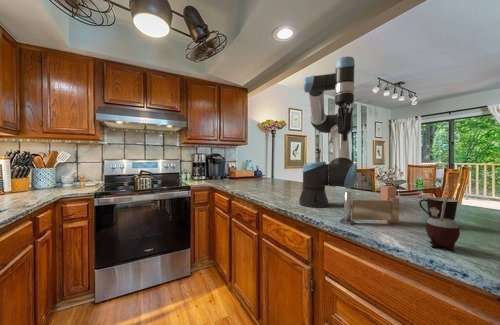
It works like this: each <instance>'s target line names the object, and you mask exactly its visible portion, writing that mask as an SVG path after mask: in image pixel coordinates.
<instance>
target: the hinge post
mask: <svg viewBox="0 0 500 325" xmlns="http://www.w3.org/2000/svg"><path fill="white" fill-rule="evenodd" d="M343 194H344V199H343V200H344V204H343V218H341V219H339V223H341V224H345V225H348V226H351V225H354V224H355V222H356V220H353V219H352V192H351V191H344V193H343Z"/></svg>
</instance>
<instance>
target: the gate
mask: <svg viewBox="0 0 500 325" xmlns="http://www.w3.org/2000/svg"><path fill="white" fill-rule="evenodd" d="M351 220H355V221H357V220H359V221H360V220H362V221H364V220H365V221H381V220H389V221H391V222H395V223H399V222H400V198H399V197H396V198H395V197H389V200H380V199H352V198H351Z"/></svg>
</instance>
